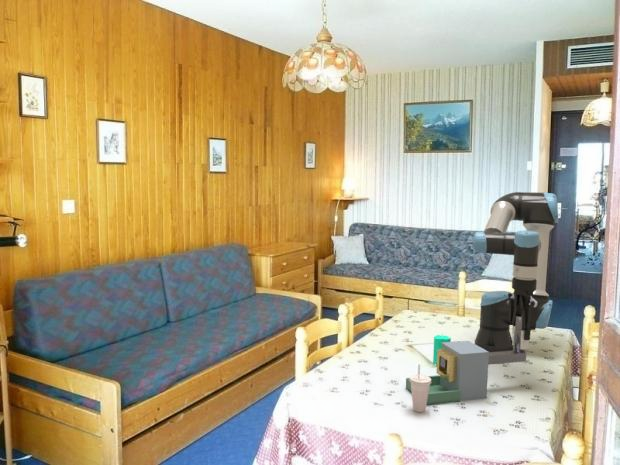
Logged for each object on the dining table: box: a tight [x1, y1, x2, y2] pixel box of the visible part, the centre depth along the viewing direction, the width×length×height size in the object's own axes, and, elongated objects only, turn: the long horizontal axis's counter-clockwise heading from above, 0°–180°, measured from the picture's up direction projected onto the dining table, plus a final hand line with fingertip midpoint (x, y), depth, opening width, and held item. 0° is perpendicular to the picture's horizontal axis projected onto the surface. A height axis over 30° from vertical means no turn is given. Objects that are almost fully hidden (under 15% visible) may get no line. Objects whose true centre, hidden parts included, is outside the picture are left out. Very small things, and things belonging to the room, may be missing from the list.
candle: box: [432, 332, 452, 365], centre depth 203 cm, size 6×6×12 cm
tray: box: [405, 374, 461, 406], centre depth 175 cm, size 12×14×4 cm
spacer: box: [436, 349, 457, 382], centre depth 176 cm, size 2×8×8 cm, turn 15°
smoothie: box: [409, 363, 431, 413], centre depth 164 cm, size 6×6×14 cm
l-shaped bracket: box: [440, 315, 527, 369], centre depth 179 cm, size 30×4×15 cm, turn 105°
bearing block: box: [439, 340, 489, 401], centre depth 178 cm, size 10×12×15 cm
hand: (520, 346), depth 182 cm, fingers closed on l-shaped bracket, 4 cm apart
